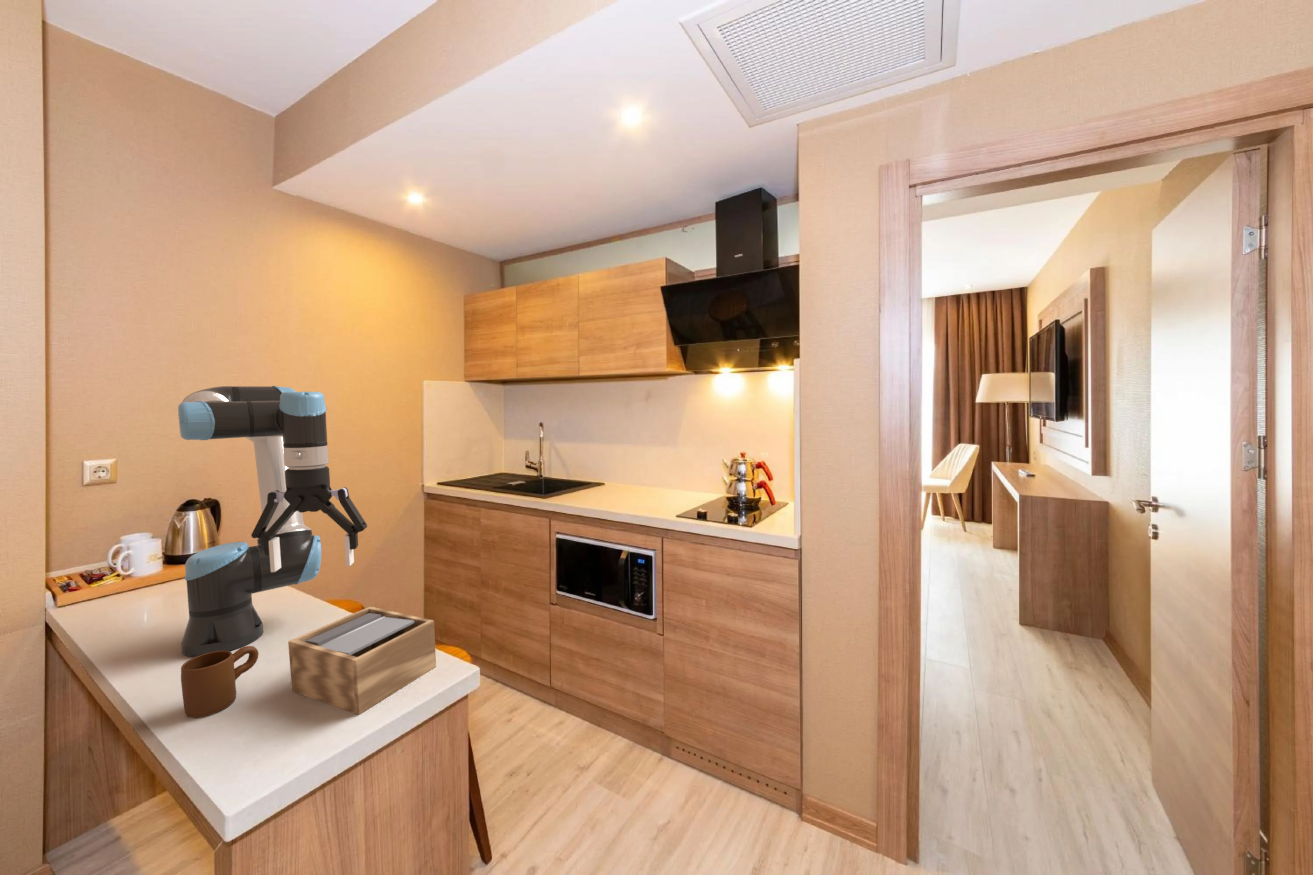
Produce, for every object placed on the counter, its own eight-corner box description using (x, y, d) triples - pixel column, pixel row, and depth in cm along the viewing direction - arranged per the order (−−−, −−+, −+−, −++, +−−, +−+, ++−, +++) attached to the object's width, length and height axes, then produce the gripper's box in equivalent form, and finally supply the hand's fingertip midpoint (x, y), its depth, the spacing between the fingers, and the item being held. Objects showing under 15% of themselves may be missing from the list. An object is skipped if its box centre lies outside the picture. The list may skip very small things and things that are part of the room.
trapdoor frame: (291, 691, 101) (288, 641, 100) (373, 649, 118) (370, 606, 117) (359, 714, 93) (356, 660, 93) (436, 666, 110) (433, 620, 109)
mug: (251, 680, 105) (247, 637, 105) (270, 689, 102) (267, 645, 101) (176, 712, 95) (172, 664, 94) (195, 723, 91) (190, 674, 91)
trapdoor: (305, 659, 101) (303, 641, 101) (373, 628, 115) (371, 612, 115) (350, 669, 96) (348, 649, 96) (415, 634, 109) (414, 617, 109)
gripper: (224, 472, 96) (233, 578, 98) (369, 467, 102) (374, 567, 104) (245, 466, 103) (253, 566, 105) (379, 462, 110) (384, 556, 112)
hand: (313, 567), depth 105 cm, fingers open, 13 cm apart
